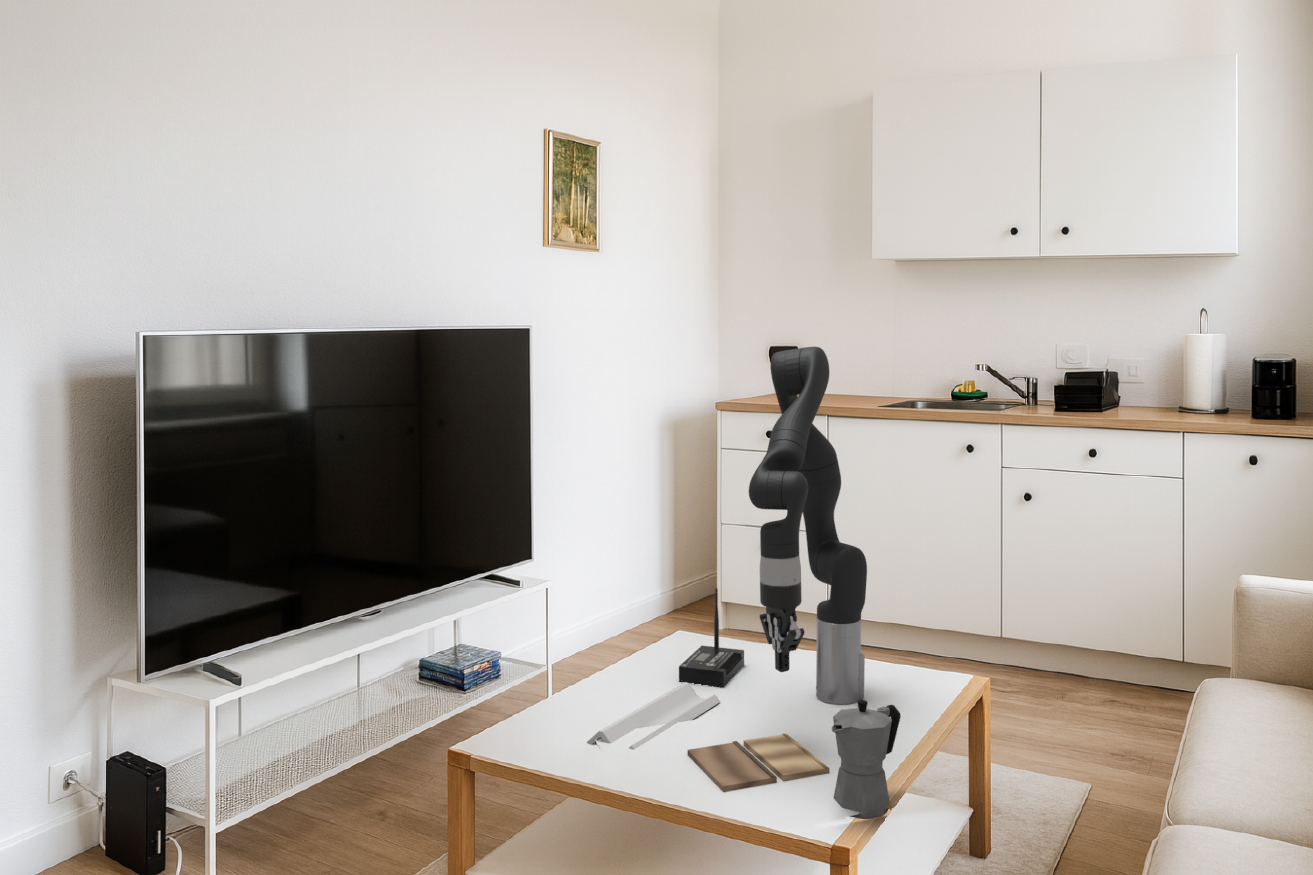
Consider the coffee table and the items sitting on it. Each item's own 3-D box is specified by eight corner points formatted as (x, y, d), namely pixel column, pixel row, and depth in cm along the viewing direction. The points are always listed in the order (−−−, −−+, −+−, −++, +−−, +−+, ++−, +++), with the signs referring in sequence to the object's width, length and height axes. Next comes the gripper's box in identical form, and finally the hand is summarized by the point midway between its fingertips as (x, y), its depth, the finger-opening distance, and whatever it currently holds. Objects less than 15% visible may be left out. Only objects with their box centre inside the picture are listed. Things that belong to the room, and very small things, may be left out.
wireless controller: (731, 689, 222) (731, 613, 220) (671, 682, 227) (670, 607, 225) (756, 661, 240) (756, 590, 238) (700, 655, 245) (699, 585, 243)
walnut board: (737, 751, 188) (737, 740, 188) (776, 788, 173) (776, 775, 173) (687, 760, 185) (687, 748, 185) (723, 797, 170) (723, 785, 170)
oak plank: (743, 750, 189) (743, 739, 188) (786, 744, 192) (786, 733, 192) (782, 786, 174) (783, 774, 174) (829, 778, 177) (829, 766, 177)
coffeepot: (854, 829, 159) (855, 718, 157) (811, 806, 167) (812, 700, 165) (919, 802, 168) (921, 696, 166) (876, 781, 175) (878, 681, 174)
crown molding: (636, 759, 187) (636, 740, 187) (584, 746, 194) (584, 727, 193) (719, 705, 213) (719, 688, 213) (671, 695, 220) (671, 679, 219)
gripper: (817, 584, 181) (818, 678, 183) (780, 568, 193) (782, 656, 195) (780, 590, 178) (782, 685, 180) (745, 573, 190) (747, 662, 192)
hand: (782, 670), depth 188 cm, fingers closed
